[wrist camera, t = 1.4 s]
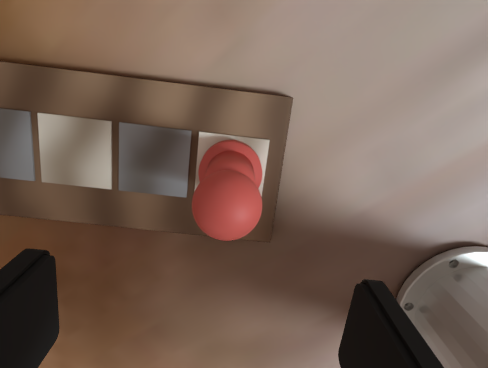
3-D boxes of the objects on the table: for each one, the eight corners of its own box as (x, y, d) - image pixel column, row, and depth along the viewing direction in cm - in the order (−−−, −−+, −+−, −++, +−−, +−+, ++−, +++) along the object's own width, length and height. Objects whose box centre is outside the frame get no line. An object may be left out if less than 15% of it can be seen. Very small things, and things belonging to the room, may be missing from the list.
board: (290, 96, 26) (293, 98, 25) (269, 236, 30) (270, 243, 28) (-56, 54, 25) (-73, 52, 24) (-35, 204, 29) (-48, 210, 27)
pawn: (265, 143, 26) (279, 179, 17) (257, 201, 27) (265, 264, 18) (202, 136, 26) (181, 169, 16) (197, 195, 27) (176, 255, 18)
